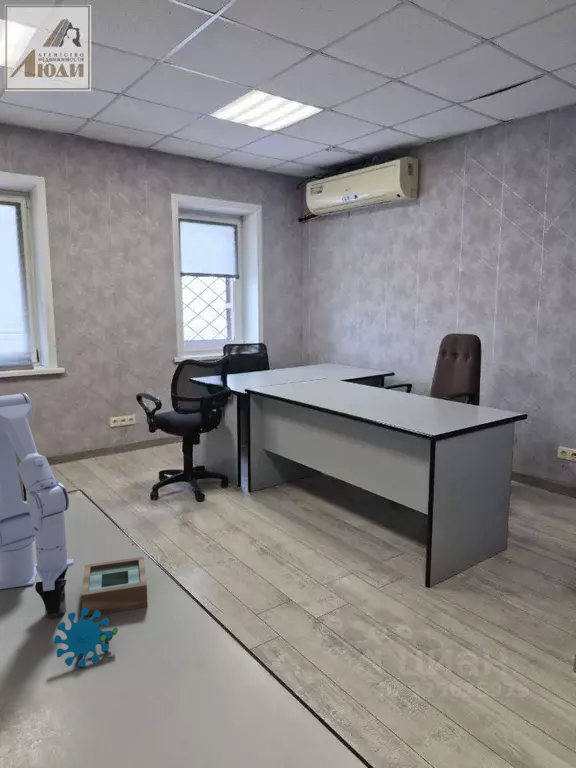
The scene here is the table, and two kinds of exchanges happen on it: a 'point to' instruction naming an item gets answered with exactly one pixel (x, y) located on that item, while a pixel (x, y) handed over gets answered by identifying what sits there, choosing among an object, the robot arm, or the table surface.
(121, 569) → the bore box
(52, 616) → the peg
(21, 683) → the table surface
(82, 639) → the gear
